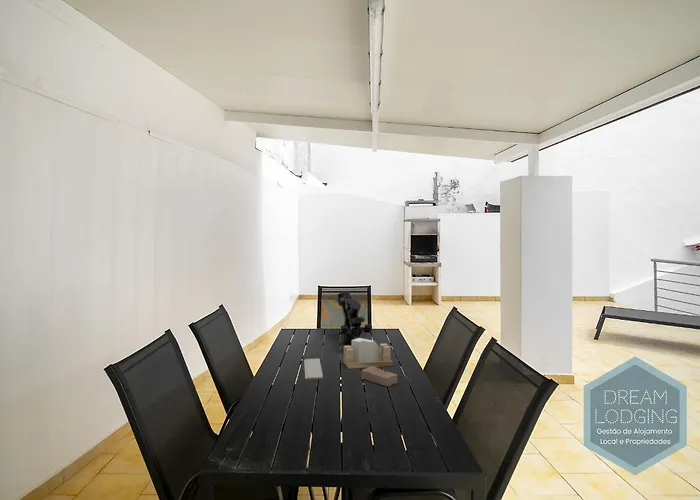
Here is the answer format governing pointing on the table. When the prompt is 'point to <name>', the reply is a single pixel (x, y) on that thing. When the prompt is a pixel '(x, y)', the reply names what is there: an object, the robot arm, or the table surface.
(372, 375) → the brick
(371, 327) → the robot arm
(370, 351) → the grey faceted lump
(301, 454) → the table surface
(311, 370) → the baseboard
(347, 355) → the wooden rack
